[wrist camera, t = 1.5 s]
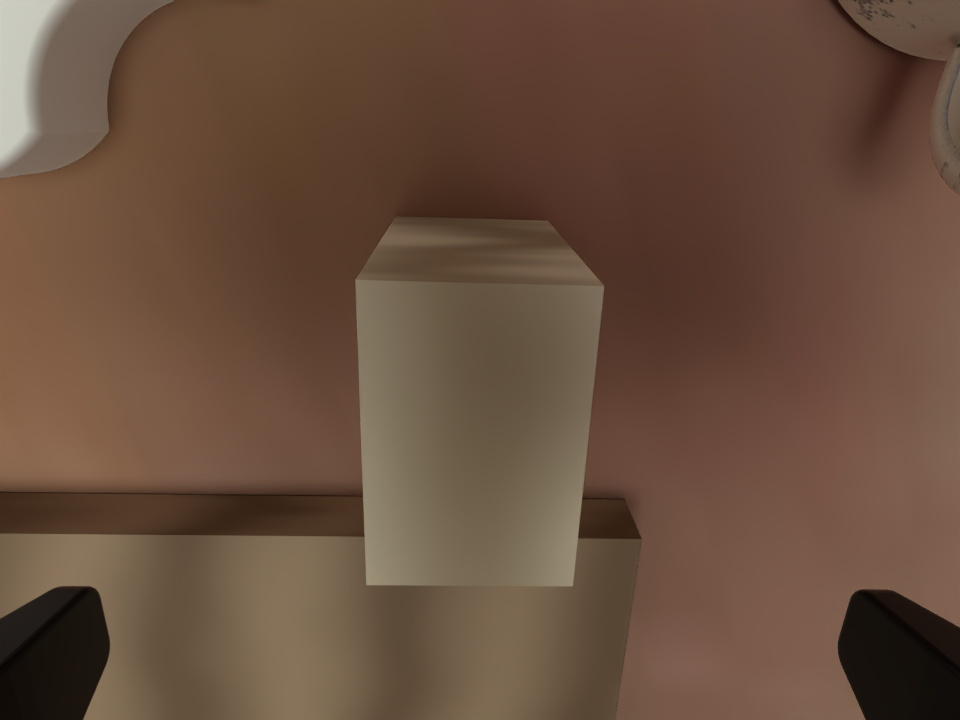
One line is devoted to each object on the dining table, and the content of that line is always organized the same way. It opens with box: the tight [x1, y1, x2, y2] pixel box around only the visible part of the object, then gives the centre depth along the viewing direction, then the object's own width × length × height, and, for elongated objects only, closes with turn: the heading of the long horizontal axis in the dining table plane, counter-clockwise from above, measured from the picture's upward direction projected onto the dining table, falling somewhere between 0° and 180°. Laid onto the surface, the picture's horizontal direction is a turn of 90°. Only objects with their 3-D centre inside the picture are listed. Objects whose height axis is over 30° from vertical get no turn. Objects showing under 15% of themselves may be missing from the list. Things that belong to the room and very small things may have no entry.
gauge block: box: [355, 216, 604, 586], centre depth 15 cm, size 4×6×7 cm, turn 178°
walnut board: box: [0, 493, 642, 720], centre depth 20 cm, size 26×13×4 cm, turn 88°
